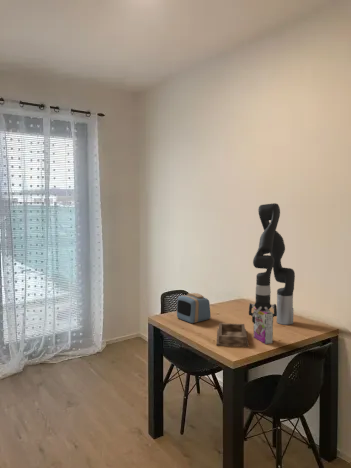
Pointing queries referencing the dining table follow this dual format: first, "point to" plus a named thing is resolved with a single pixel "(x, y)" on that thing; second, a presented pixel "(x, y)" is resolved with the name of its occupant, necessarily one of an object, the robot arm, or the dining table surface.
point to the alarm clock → (193, 308)
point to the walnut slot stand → (232, 335)
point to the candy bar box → (264, 326)
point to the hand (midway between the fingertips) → (262, 323)
